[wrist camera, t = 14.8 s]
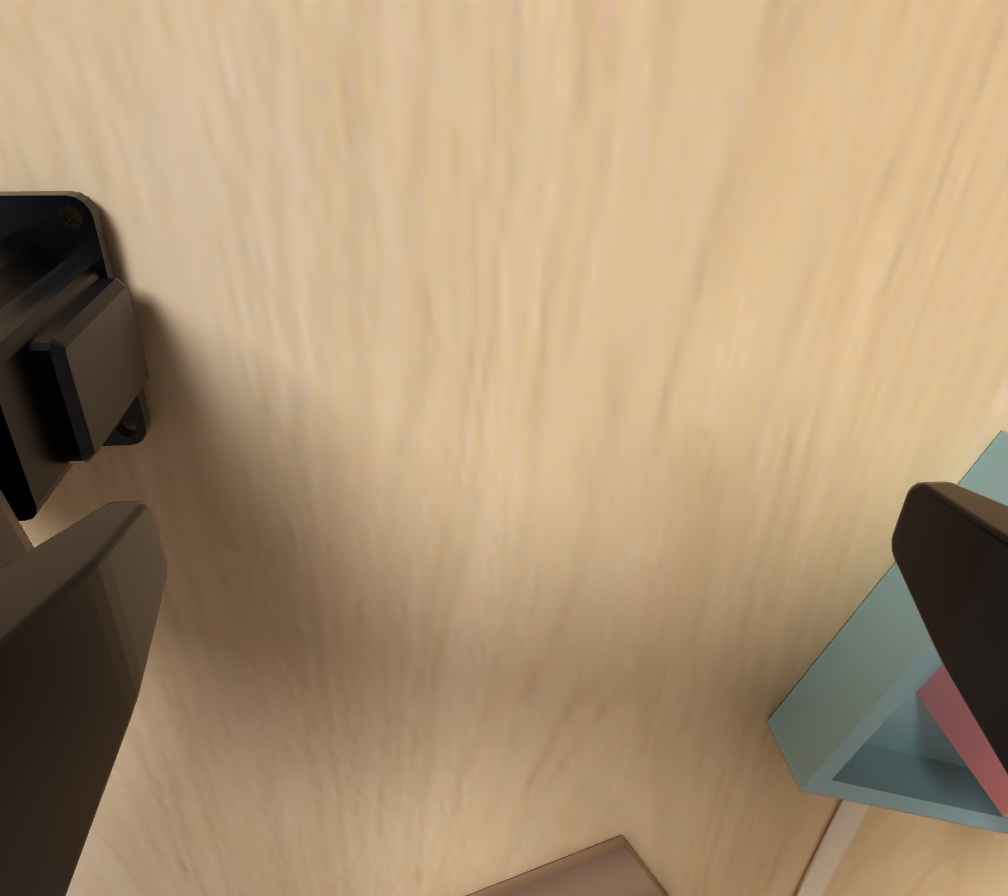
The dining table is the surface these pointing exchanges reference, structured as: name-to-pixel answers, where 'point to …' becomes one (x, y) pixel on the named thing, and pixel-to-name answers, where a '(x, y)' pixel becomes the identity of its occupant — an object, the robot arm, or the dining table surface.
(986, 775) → the red stepped block
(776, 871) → the dining table surface
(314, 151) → the dining table surface
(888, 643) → the tray
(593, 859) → the stake stand
